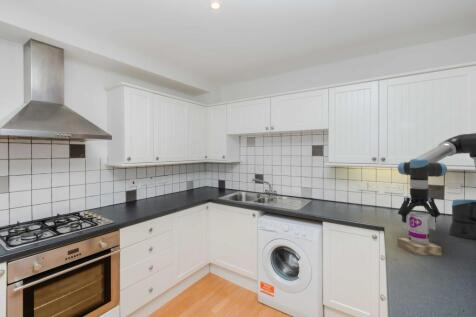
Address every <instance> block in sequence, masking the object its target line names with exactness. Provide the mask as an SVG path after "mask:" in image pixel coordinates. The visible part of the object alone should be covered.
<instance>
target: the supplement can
mask: <svg viewBox="0 0 476 317" xmlns="http://www.w3.org/2000/svg"><path fill="white" fill-rule="evenodd" d="M408 238H409V240H410V241H411V242H413V243H416V244H421V245H426V244H428V243H429V242H430V241H429V240H430V228H429V213H428V214H427V213H424V212H418V211H411V212H410V213H409V214H408Z"/></svg>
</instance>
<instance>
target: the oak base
mask: <svg viewBox="0 0 476 317" xmlns="http://www.w3.org/2000/svg"><path fill="white" fill-rule="evenodd" d="M396 245H397V246H398V247H399V248H400V249H401V248H402V249H403V250H405V251H407V252H409V253H411V254H413V255H415V256H442V255H443V247H442V246H439V245H437V244H435V243H433V242H430V241H429V243H428V244H426V245H421V244H416V243H413V242H411V241H410V240H409V237H397V238H396Z"/></svg>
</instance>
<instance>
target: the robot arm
mask: <svg viewBox="0 0 476 317" xmlns="http://www.w3.org/2000/svg"><path fill="white" fill-rule="evenodd" d="M457 154H458V155H459V154H468V155H469V158H471V159H472V160H473V161H474V162H473V163H474V169H475V171H476V132H474V133H473V132H472V133H464V134H462V133H461V134H458V135H455V136H453V137H450V138H448V139H445V140H443V141H441V142H440V143H439V144H438V145H437V146H436V147H434V148H432V149H430V150H428V151H426V152H425V153H423V154H422V155H419V156H417V157H415V158H411V159H410V161H403V162H400V163H399V164H398V166H397V171H398V173H399V174H401V175H404V176H409V177H410V178H409V186H410V188H409V195H410V197H408V196H404V198H403V202H402V204H401V206H400V208H399V210H398V212H397V214H398V215H400V216H401V222H403V223H402V226H403V229H404V230H409V215H410V213H411V212H412V211H413V210H414V209H415V208H416V207H420V206H421V207H423V208H424V209H425V210H426V211H427V213H428V217H429V230H434V231H436V223H437V218H439V216H441V213H440V211H439V209H438V207H437V206H438V205H436V203H435V198H434V197H430V196H429V189H428V188H429V177H431V178H432V177H434V178H435V177H436V178H437V177H444V176H446V174H447V173H448V167H447V166H446V164H444V163H443V162H439V161H441V160H444V159H445V158H447V157H452V156H454V155H457ZM451 215H452V216H451V223H450V226H449V228H448V234H449V235H451V236H454V237H458V238H462V239H468V240H476V199H453V200H452V204H451Z"/></svg>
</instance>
